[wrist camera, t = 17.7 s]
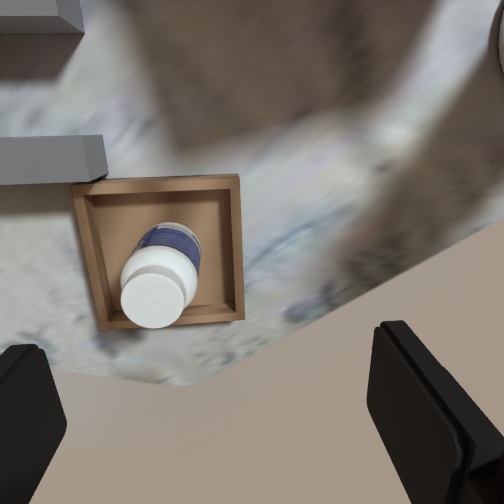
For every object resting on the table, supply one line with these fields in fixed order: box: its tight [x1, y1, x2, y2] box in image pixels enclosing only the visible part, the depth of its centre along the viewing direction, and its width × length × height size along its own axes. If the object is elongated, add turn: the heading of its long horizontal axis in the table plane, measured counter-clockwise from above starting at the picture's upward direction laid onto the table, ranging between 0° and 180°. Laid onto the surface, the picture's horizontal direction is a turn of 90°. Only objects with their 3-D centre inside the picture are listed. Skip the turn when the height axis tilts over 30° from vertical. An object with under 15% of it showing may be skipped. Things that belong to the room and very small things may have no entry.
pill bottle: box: [120, 222, 201, 329], centre depth 26 cm, size 5×5×10 cm
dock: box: [0, 0, 109, 185], centre depth 24 cm, size 10×13×4 cm
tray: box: [70, 174, 245, 330], centre depth 30 cm, size 13×13×2 cm
